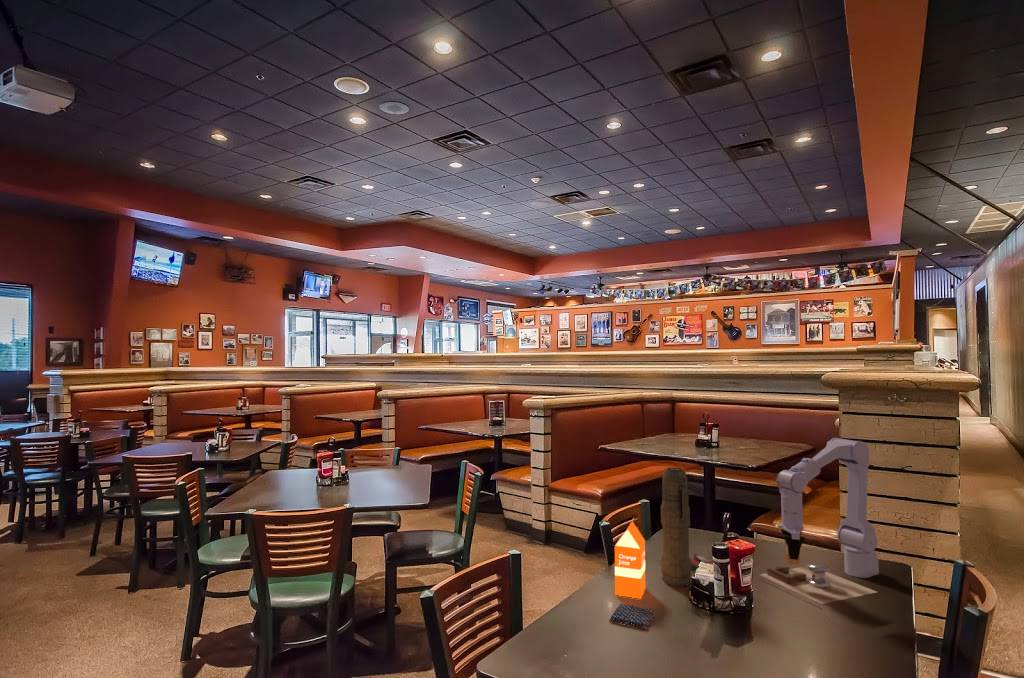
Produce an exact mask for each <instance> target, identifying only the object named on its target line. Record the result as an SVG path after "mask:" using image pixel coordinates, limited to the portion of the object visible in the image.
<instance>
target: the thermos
mask: <svg viewBox="0 0 1024 678" xmlns="http://www.w3.org/2000/svg"><path fill="white" fill-rule="evenodd" d="M685 471H686V470H684V469H683V468H680V467H676V466H674V467H667V468H665V469H664V472H663V474H662V476H661V477H662V484H661V499H662V500H661V505H660V524H661V526H662V555H661V565H660V566H661V570H660V571H661V573H662V575H661V576H662V577H661V580H663V581H664V582H665V583H664V582H663V581H662V582H663V583H664V584H666V583H667V584H666V585H669V584H670V585H669V586H672V585H674V587H684V586H683V585H687V584H689V583H690V580H691V575H692V570H691V560H690V559H691V558H690V546H689V545H690V543H689V542H690V541H689V540H690V538H689V536H690V535H689V530H690V527H691V508H690V506H689V505H690V502H689V501H690V500H689V497H690V496H689V495H690V494H689V488H688V477H687V474H686V472H685ZM690 584H691V583H690ZM690 584H689V585H690ZM687 586H688V585H687Z"/></svg>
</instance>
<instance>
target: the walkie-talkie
mask: <svg viewBox="0 0 1024 678" xmlns="http://www.w3.org/2000/svg"><path fill="white" fill-rule="evenodd" d="M693 556H694V557H693V558H690V560H691V571H692V570H693V571H695V570H696V569H697V568H698V565H699V563H700V562H701V561H702V562H708V561H710V560H711V559H707V558H705V557H703V556H702V555H698V554H697V553H694V554H693ZM693 571H692V572H693Z"/></svg>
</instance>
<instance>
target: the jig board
mask: <svg viewBox="0 0 1024 678" xmlns="http://www.w3.org/2000/svg"><path fill="white" fill-rule="evenodd" d="M796 573H805V574H806V581H802V582H797V583H792V584H786V583H784V582H782V581H780V580H777V579H775V578H773V577H771V576H769V575H767V573H759V576H760V577H763V578H765V579H767V580H769V581H772V582H774V583H776V584H778V585H780V586H782V587H784V588H787V589H789V590H791V591H793V592H795V593H796V594H799V595H801V596H803V597H805V598H807V599H810V600H813V601H815V602H816V603H819V604H820V605H824V604H829V603H834V602H838V601H843V600H848V599H853V598H858V597H861V596H863V597H864V596H866V595H871V594H872V595H873V594H876V593H878V591H876V590H873V589H871V588H868V587H866V586H864V585H861V584H858V583H856V582H853V581H851V580H849V579H846V578H844V577H841V576H839V575H836V574H834V573H831V572H830V571H829V572H825V579H826V580H827V581H829V582H830V587H829V588H818V587H814V586H811V585H809V584H808V579H809V578H812V570H810V569H809V568H808V567H807V565H805V566H799V567H795V568H789V573H788V574H786V575H791V574H796ZM759 580H760V581H762V582H764V583H766V584H768V585H770V586H772V587H774V588H776V589H778V590H780V591H783V592H784V593H787V594H789V595H791V596H793V597H794V598H797V599H800V600H802V601H803V602H806V603H808V604H810V605H812V606H813V607H816V608H818V609H820V610H823V608H821V607H819V606H818V605H816V604H813V603H811V602H808V601H807V600H804V599H802V598H800V597H798V596H797V595H794V594H792V593H790V592H788V591H786V590H784V589H781V588H779V587H776V585H773V584H770V583H769V582H767V581H764V580H763V579H761V578H759Z"/></svg>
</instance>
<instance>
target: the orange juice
mask: <svg viewBox="0 0 1024 678" xmlns="http://www.w3.org/2000/svg"><path fill="white" fill-rule="evenodd" d="M614 586H615V587H614V591H615V593H614V596H615V595H619V596H618V597H620V596H626V597H632V598H631V599H633V598H639V599H641V600H642V598H643V596H644V593H645V591H644V590H646V589H645V588H646V539H645V538H644V537H643V535H642V533H641V532H640V530H639V529H638V527H637V525H636V524H635V523H634V521H633V520H632V521H631V522H630V524H629V526H627V528H626V530H625V531H624V533H623V534H622V536H620V537H619V539H618V540H617V542H616V544H615V545H614ZM642 595H643V596H642ZM626 597H625V598H626ZM641 597H642V598H641ZM639 599H638V600H639Z"/></svg>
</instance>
